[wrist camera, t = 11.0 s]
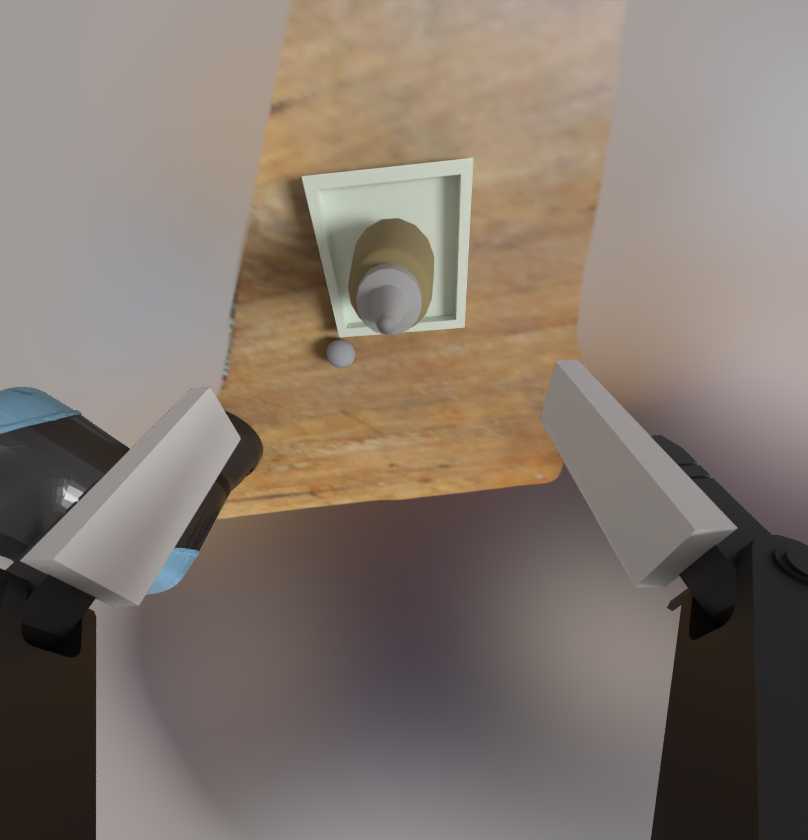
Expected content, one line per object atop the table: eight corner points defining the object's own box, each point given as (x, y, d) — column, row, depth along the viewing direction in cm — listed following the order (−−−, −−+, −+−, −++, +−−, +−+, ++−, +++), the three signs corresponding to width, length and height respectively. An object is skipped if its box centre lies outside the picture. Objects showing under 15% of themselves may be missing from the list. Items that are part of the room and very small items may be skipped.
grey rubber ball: (332, 360, 40) (327, 374, 37) (326, 335, 38) (320, 348, 35) (358, 358, 40) (355, 372, 37) (353, 333, 38) (350, 345, 35)
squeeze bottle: (344, 273, 32) (300, 346, 19) (378, 194, 28) (352, 213, 14) (407, 311, 35) (408, 399, 21) (447, 244, 31) (482, 300, 17)
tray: (342, 329, 37) (339, 337, 35) (308, 176, 28) (301, 176, 26) (461, 319, 37) (464, 327, 35) (468, 159, 27) (473, 157, 25)
